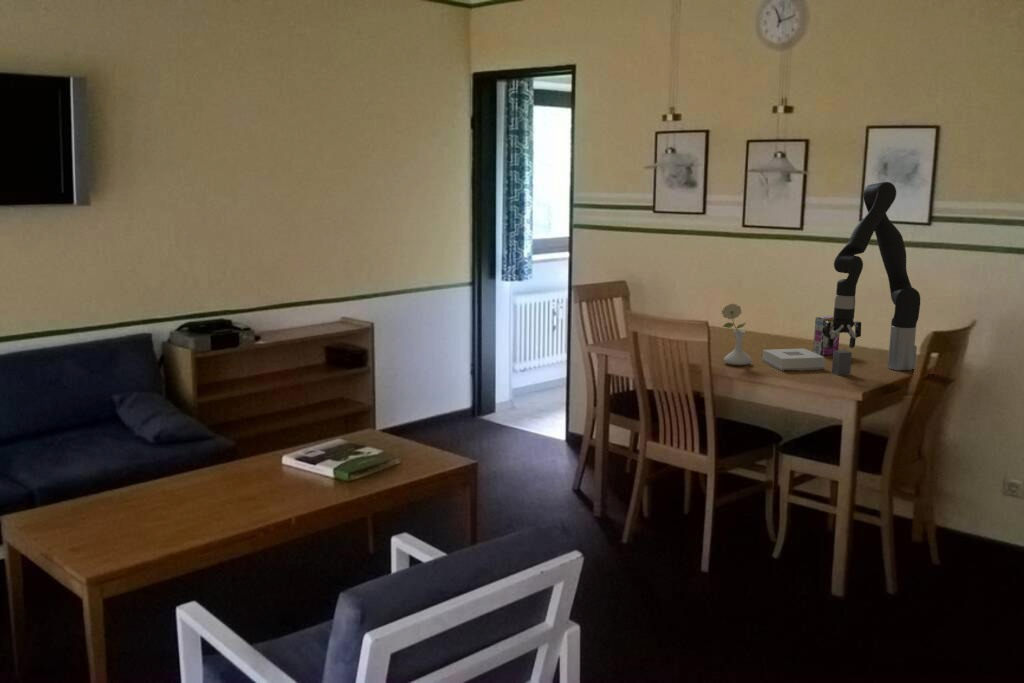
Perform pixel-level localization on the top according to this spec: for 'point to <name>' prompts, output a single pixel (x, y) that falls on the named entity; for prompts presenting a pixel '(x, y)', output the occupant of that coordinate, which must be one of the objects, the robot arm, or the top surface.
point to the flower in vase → (737, 354)
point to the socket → (793, 359)
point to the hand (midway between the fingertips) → (840, 347)
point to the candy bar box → (822, 341)
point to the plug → (841, 362)
